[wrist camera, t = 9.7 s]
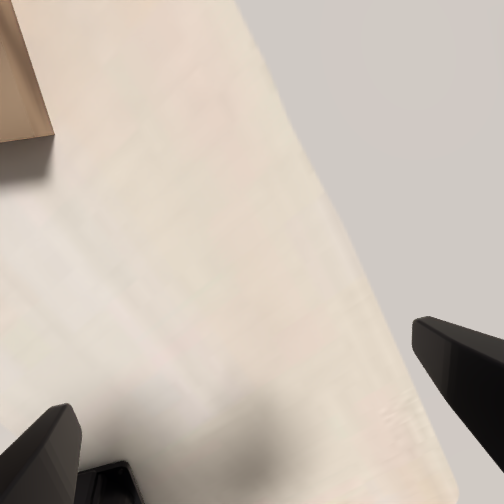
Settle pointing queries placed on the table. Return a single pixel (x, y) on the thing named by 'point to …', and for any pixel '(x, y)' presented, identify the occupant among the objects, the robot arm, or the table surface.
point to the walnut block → (18, 84)
